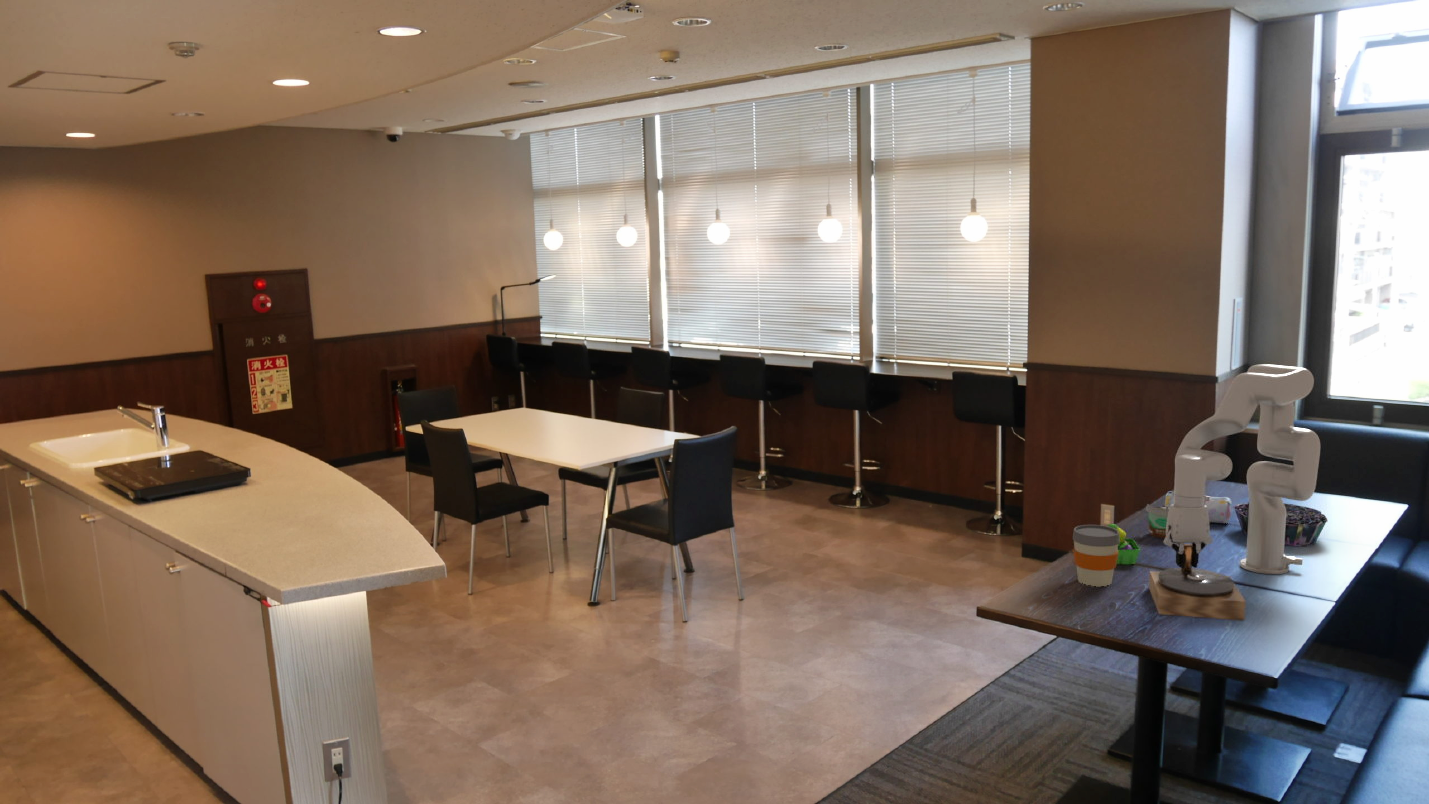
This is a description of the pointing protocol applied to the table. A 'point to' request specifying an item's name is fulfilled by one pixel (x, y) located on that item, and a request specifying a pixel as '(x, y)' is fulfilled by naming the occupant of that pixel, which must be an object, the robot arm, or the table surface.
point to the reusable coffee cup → (1095, 553)
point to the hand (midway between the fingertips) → (1186, 565)
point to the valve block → (1196, 602)
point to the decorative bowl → (1292, 523)
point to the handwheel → (1195, 579)
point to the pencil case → (1210, 507)
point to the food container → (1157, 520)
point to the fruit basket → (1126, 548)
